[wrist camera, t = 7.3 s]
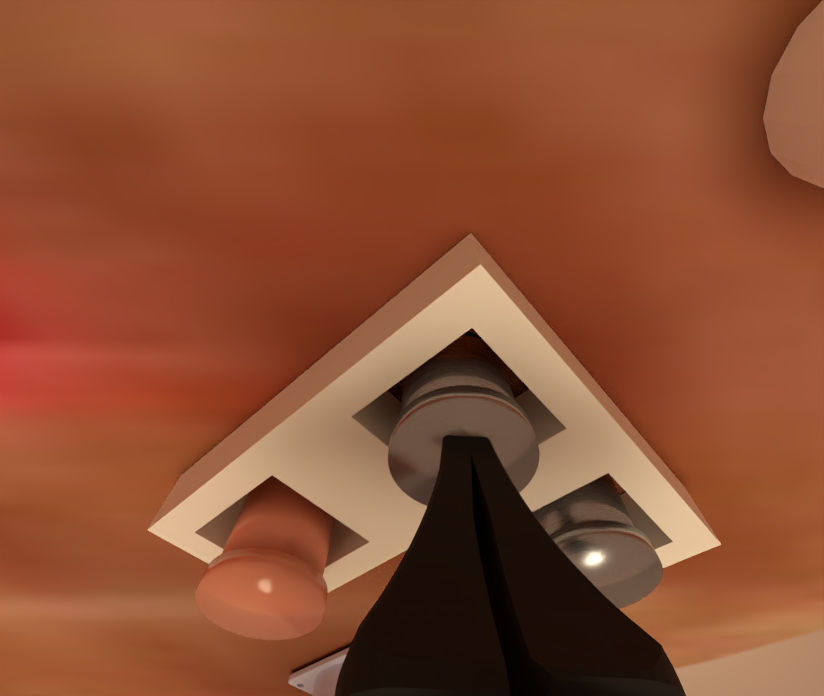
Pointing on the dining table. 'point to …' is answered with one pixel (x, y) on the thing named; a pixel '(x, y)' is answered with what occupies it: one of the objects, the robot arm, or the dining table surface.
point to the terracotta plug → (270, 567)
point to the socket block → (377, 410)
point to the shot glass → (799, 102)
